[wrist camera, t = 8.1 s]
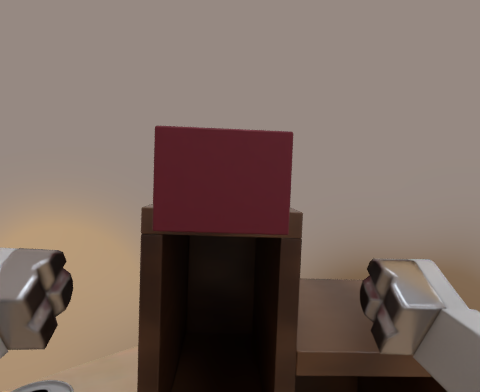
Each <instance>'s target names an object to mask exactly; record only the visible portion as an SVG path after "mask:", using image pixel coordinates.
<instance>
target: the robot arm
mask: <svg viewBox="0 0 480 392" xmlns="http://www.w3.org/2000/svg"><path fill="white" fill-rule="evenodd" d="M65 263H66V259H65V256H64V254H63V252H61V251H59V250H43V249H23V248H19V249H14V248H13V249H12V248H0V358H2V357H3V356H4V355H5V354H6V353H7V352H8V350H29V349H45V348H46V346H47V344H48V342H49V340H50V338H51V337H52V335H53V333H54V331H55V329H56V327H57V321H56V316H58V315H59V314H60V313H62V312H63V311H65V310H66V308H67V306H68V304H69V302H70V300H71V296H72V291H73V280H72V277H71V274H70V273H69V272H68V271H66V270H65V269H64V268H63V266H64V265H65ZM367 270H368V272H369V274H370V276H368V277H367V278H366V279H364V280H363V281H362V284H361V287H360V303H361V307H362V310H363V313H364V315H365V316H366V317H367V318H368V319H369V320H371V321H372V322H373V325H372V328H371V333H372V335H373V337H374V340H375V342H376V345H377V347H378V349H379V352H380V354H396V355H414V356H413V357H414V358H415V360H416V361H417V362H418V363H419V364H420V365H421V366H422V367H423V368H424V369H425V370H426V371H427V372H428V373H429V374H430V375H431V376H432V377H433V378H434V379H435V380H436V381H437V382H438V383H439V384H440V385H441V386H442V387H443V388H444V389H445V390H446V391H447V392H480V312H478V311H477V310H472V309H471V310H470V309H469V308H468V307H467V306H466V304H465V303H464V302H463V300H462V299H461V298H460V296H459V295H458V294H457V292H456V291H455V290H454V288H453V287H452V286H451V284H450V283H449V282H448V280H447V279H446V278H445V276H444V275H443V274H442V272H441V271H440V270H439V268H438V267H437V265H436V264H435V263H434V262H432V261H431V260H429V259H410V260H408V259H372V261H370V263H369V266H368V268H367Z"/></svg>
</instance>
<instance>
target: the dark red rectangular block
mask: <svg viewBox="0 0 480 392" xmlns="http://www.w3.org/2000/svg"><path fill="white" fill-rule="evenodd" d="M292 149H293V132H286V131H264V130H241V129H220V128H218V129H217V128H197V127H175V126H173V127H172V126H156V127H155V148H154V188H153V190H154V191H153V231H164V232H197V233H231V234H265V235H288V234H289V216H290V194H291V171H292Z"/></svg>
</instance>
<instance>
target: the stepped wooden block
mask: <svg viewBox="0 0 480 392" xmlns="http://www.w3.org/2000/svg"><path fill="white" fill-rule="evenodd" d="M141 216H142V217H141V233H142V235H141V258H140V261H141V262H140V301H139V303H140V305H139V344H138V388H137V392H447V391H446V390H445V389H444V388H443V387H442V386H441V385H440V384H439V383H438V382H437V381H436V380H435V379H434V378H433V377H432V376H431V375H430V374H429V373H428V372H427V371H426V370H425V369H424V368H423V367H422V366H421V365H420V364H419V363H418V362H417V361H416V360H415V358H414V357H413V356H414V355H396V354H380V352H379V349H378V347H377V345H376V342H375V340H374V337H373V335H372V333H371V328H372V325H373V322H372V321H371V320H369V319H368V318H367V317H366V316H365V315H364V313H363V310H362V307H361V303H360V287H361V284H362V281H363V280H340V279H339V280H338V279H300V265H301V244H302V239H301V238H302V220H303V213H302V212H300V211H297V210H295V209H292V208H290V216H289V234H288V235H265V234H231V233H197V232H164V231H153V204H151V205H148V206H145V207H142V214H141Z"/></svg>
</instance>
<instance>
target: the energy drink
mask: <svg viewBox="0 0 480 392" xmlns="http://www.w3.org/2000/svg"><path fill="white" fill-rule="evenodd" d="M11 392H74V391H73V388H72V387H71V385H69V384H68V383H66V382H63V381H58V380H46V381H39V382H35V383H31V384H28V385H25V386H22V387H20V388H17V389H15V390H13V391H11Z"/></svg>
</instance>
